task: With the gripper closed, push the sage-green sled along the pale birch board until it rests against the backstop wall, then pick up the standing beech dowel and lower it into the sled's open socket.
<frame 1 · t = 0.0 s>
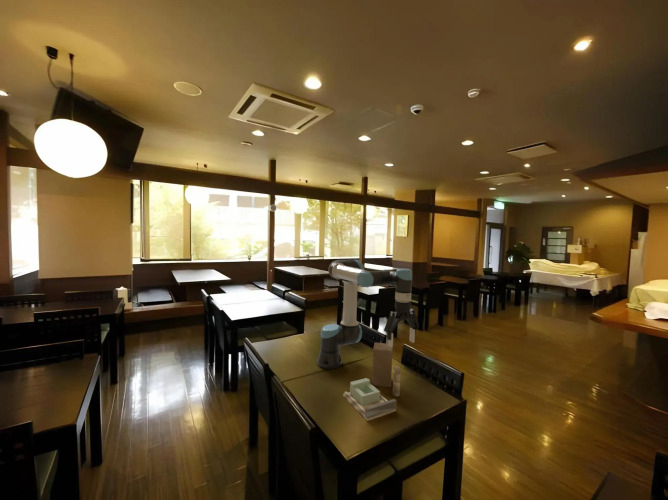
hand: (401, 344, 136), 28 cm above the table, fingers open, 13 cm apart
wooden block: (381, 382, 154), on the table
sled: (364, 391, 137), point 4 cm above the table, slide at 0.0 cm
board: (368, 403, 134), on the table
dowel: (396, 394, 142), on the table
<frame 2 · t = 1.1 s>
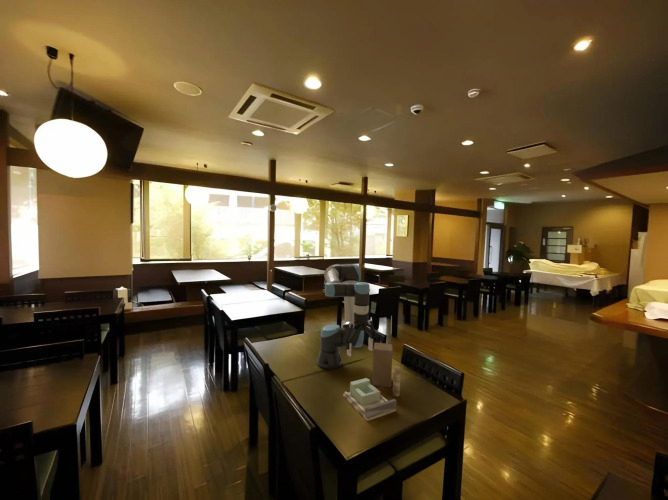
hand: (359, 352, 145), 19 cm above the table, fingers open, 13 cm apart
nothing on the table moved.
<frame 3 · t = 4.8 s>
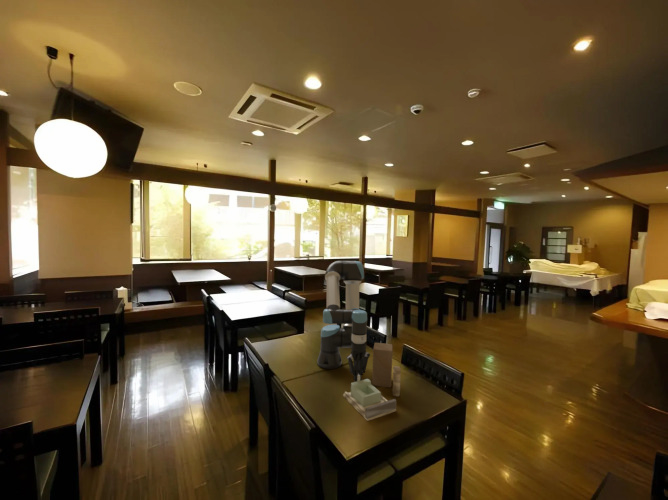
hand: (357, 387, 142), 3 cm above the table, fingers closed
sled: (365, 392, 136), point 4 cm above the table, slide at 0.8 cm, touching gripper
everything else where it was.
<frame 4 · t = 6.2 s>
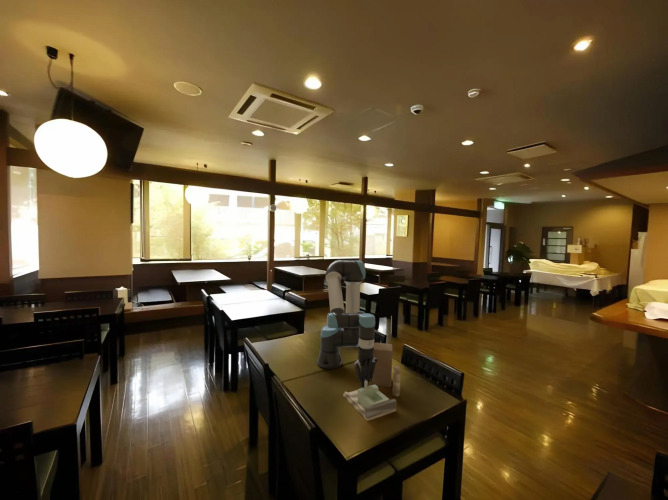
hand: (364, 393, 137), 3 cm above the table, fingers closed
sled: (373, 398, 131), point 4 cm above the table, slide at 7.0 cm, touching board, gripper
everything else where it was.
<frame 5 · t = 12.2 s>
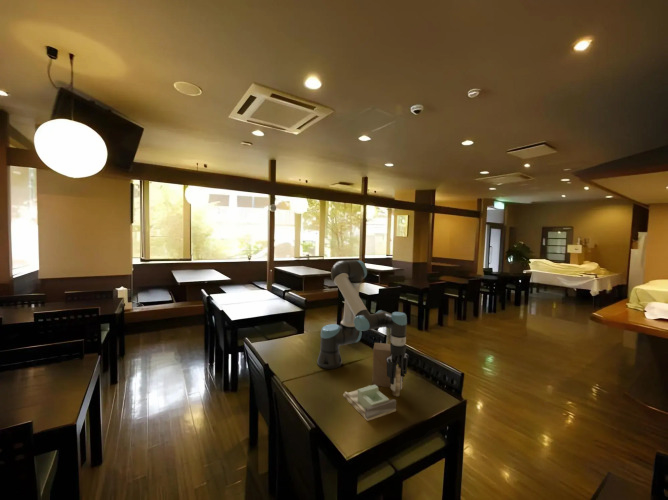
hand: (396, 388, 142), 3 cm above the table, fingers closed on dowel, 3 cm apart
sled: (373, 398, 131), point 4 cm above the table, slide at 7.0 cm, touching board
dowel: (396, 394, 142), on the table, touching gripper
everything else where it was.
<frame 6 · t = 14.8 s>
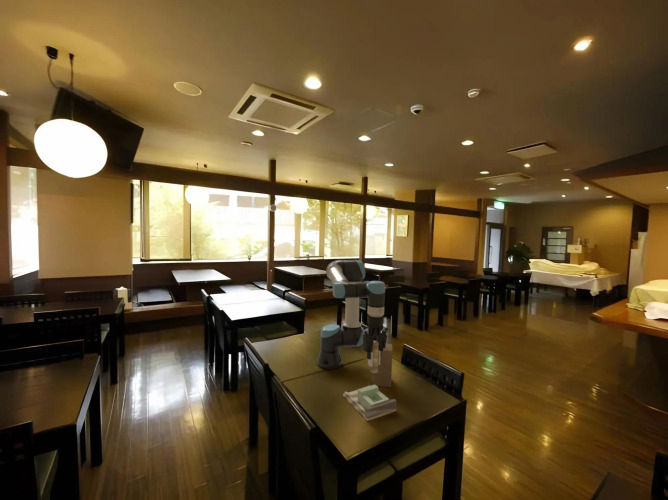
hand: (373, 364, 130), 20 cm above the table, fingers closed on dowel, 3 cm apart
dowel: (373, 371, 130), point 17 cm above the table, touching gripper
everything else where it was.
when the fingers open (7 cm above the table, at t = 17.4 s): dowel drops 1 cm, resting on sled.
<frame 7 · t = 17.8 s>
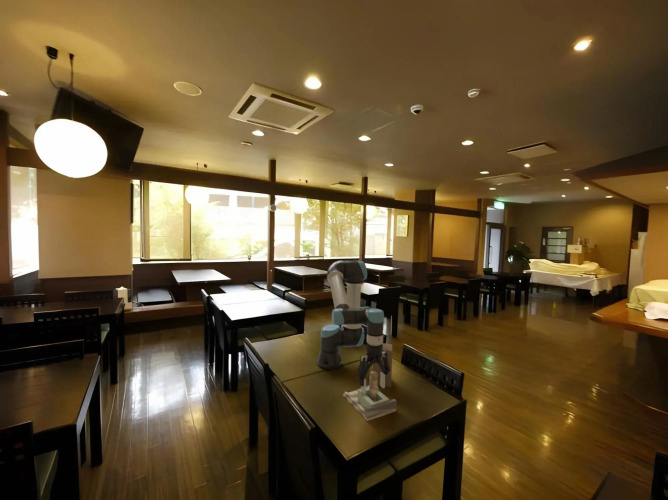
hand: (372, 389, 131), 8 cm above the table, fingers open, 10 cm apart
sled: (373, 398, 131), point 4 cm above the table, slide at 7.0 cm, touching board, dowel
dowel: (372, 402, 131), point 2 cm above the table, touching sled
everything else where it was.
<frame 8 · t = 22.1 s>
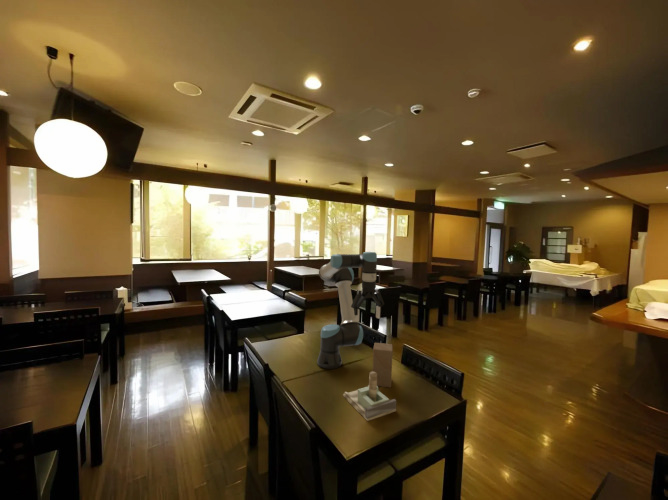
hand: (367, 319, 152), 35 cm above the table, fingers open, 13 cm apart
sled: (373, 398, 131), point 4 cm above the table, slide at 7.0 cm, touching dowel
everything else where it was.
at the end: sled slide at 7.0 cm; dowel 0.0 cm from the target spot, point 2.1 cm above the table; dowel tilted 1° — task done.
